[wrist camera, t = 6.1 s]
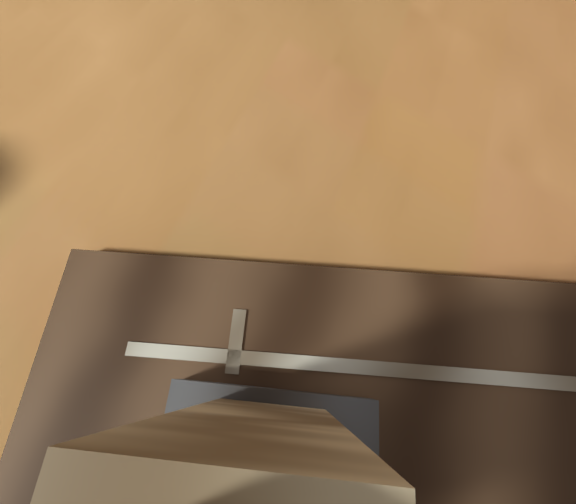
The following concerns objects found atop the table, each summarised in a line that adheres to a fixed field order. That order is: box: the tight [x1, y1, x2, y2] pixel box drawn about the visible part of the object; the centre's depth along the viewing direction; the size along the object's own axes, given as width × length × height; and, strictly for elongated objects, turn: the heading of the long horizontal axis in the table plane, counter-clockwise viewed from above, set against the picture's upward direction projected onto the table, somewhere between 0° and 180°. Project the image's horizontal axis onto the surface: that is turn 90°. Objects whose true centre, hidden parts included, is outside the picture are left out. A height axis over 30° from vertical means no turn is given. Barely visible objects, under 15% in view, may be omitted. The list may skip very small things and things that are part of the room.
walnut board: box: [0, 249, 576, 504], centre depth 13 cm, size 34×16×1 cm, turn 86°
